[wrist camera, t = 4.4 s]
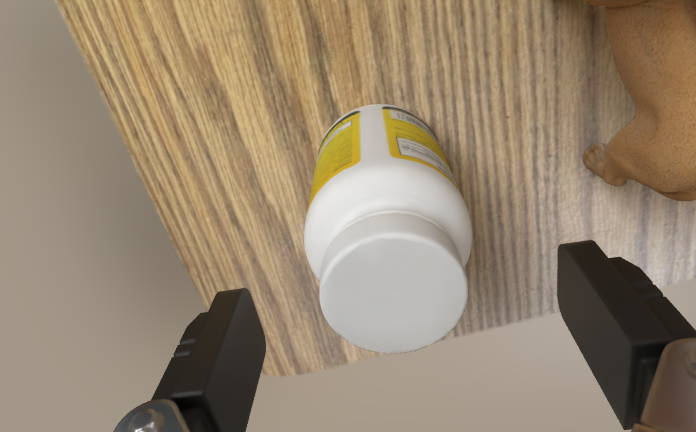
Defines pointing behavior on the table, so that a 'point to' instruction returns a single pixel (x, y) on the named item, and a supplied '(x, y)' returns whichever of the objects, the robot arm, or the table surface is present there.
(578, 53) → the table surface
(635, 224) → the table surface
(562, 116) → the table surface
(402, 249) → the supplement bottle
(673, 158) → the lion figurine
